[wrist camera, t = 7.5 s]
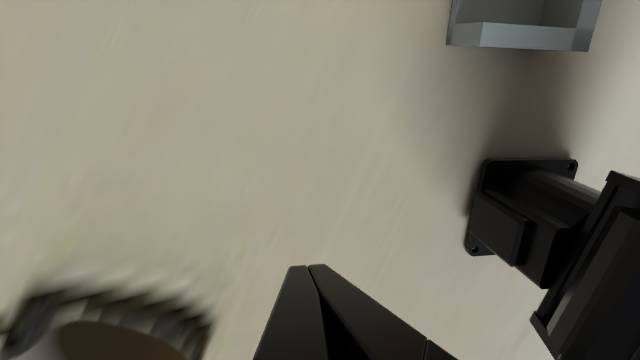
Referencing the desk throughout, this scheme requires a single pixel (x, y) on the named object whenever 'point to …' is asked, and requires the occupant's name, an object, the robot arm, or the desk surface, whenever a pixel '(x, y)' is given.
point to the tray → (523, 24)
